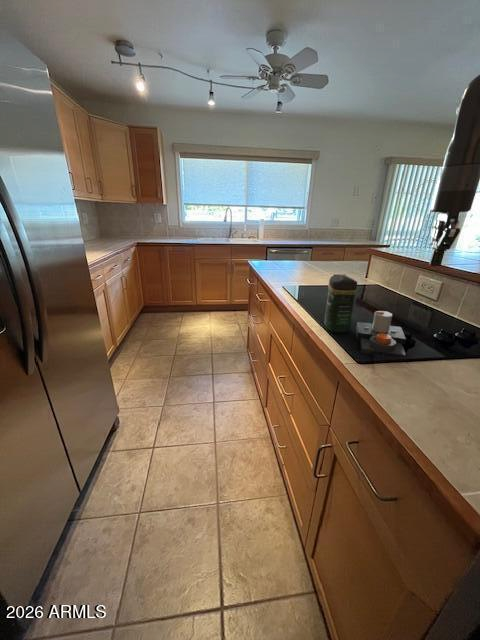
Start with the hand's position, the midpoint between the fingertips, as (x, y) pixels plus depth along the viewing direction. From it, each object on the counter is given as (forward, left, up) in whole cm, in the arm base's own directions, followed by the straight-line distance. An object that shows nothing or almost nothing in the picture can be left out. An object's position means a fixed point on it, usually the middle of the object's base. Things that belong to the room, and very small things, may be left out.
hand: (434, 265), depth 66 cm
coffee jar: (+21, -10, -25) cm, 34 cm away
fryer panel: (+8, -6, -25) cm, 27 cm away
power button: (+8, +3, -22) cm, 23 cm away
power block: (+8, +2, -25) cm, 26 cm away
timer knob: (+8, -6, -22) cm, 24 cm away
